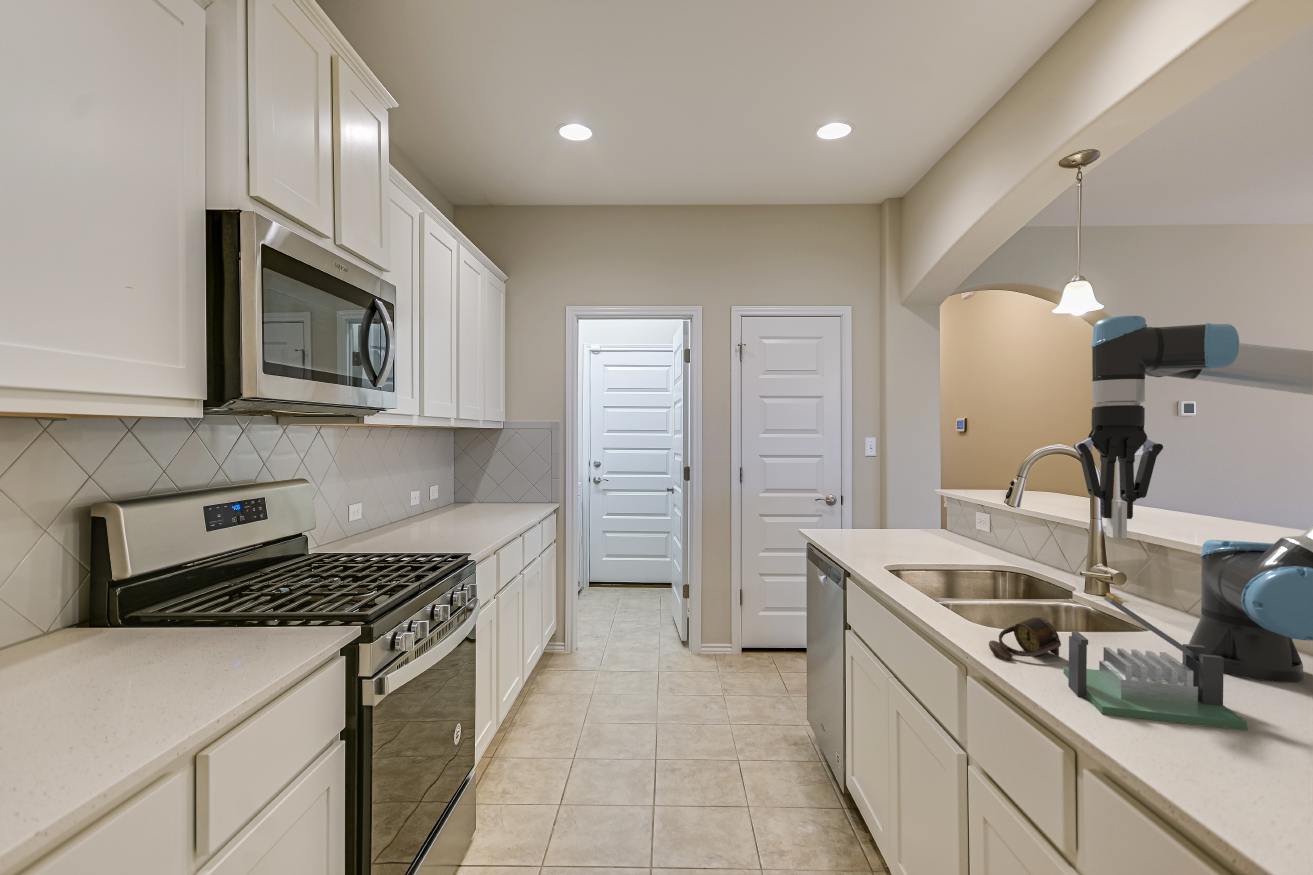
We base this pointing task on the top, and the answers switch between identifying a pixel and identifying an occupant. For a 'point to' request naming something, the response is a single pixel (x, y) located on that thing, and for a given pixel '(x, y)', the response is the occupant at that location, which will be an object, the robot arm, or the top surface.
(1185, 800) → the top surface
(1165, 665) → the heatsink
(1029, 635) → the antique brown clock
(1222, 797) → the top surface
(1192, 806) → the top surface
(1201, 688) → the grey u-bracket
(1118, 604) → the strap
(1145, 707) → the board
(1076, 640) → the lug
